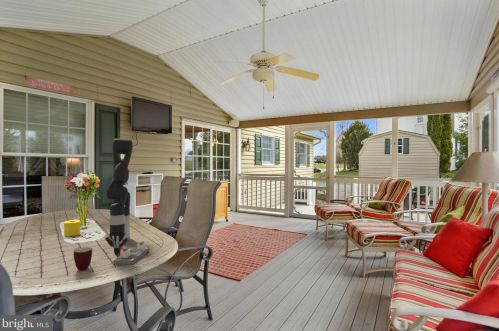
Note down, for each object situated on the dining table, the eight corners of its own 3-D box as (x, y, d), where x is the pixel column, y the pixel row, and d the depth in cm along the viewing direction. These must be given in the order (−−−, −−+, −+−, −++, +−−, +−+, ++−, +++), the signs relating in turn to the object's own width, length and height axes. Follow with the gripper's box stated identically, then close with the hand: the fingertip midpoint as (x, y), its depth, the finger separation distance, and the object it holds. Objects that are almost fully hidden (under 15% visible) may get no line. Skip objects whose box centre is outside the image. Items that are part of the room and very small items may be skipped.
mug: (68, 268, 140) (68, 249, 140) (85, 264, 146) (85, 245, 146) (77, 274, 134) (77, 253, 133) (95, 268, 140) (95, 249, 140)
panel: (113, 264, 146) (113, 258, 146) (132, 250, 169) (132, 245, 168) (131, 264, 146) (131, 259, 146) (148, 250, 168) (148, 246, 168)
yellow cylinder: (83, 232, 207) (83, 220, 207) (73, 236, 197) (73, 223, 197) (70, 232, 208) (70, 219, 208) (60, 236, 198) (60, 222, 198)
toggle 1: (120, 257, 150) (120, 249, 150) (123, 255, 153) (123, 247, 153) (127, 257, 150) (127, 249, 150) (130, 255, 153) (130, 247, 153)
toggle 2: (137, 250, 162) (137, 242, 162) (139, 248, 165) (139, 241, 165) (143, 250, 162) (143, 243, 162) (146, 248, 165) (146, 241, 165)
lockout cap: (113, 255, 160) (113, 245, 159) (117, 253, 164) (117, 243, 164) (121, 255, 159) (121, 246, 159) (124, 253, 164) (124, 243, 164)
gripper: (101, 224, 147) (101, 256, 148) (125, 224, 147) (125, 256, 147) (109, 221, 155) (109, 251, 155) (132, 221, 154) (132, 252, 155)
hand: (117, 254), depth 151 cm, fingers closed
